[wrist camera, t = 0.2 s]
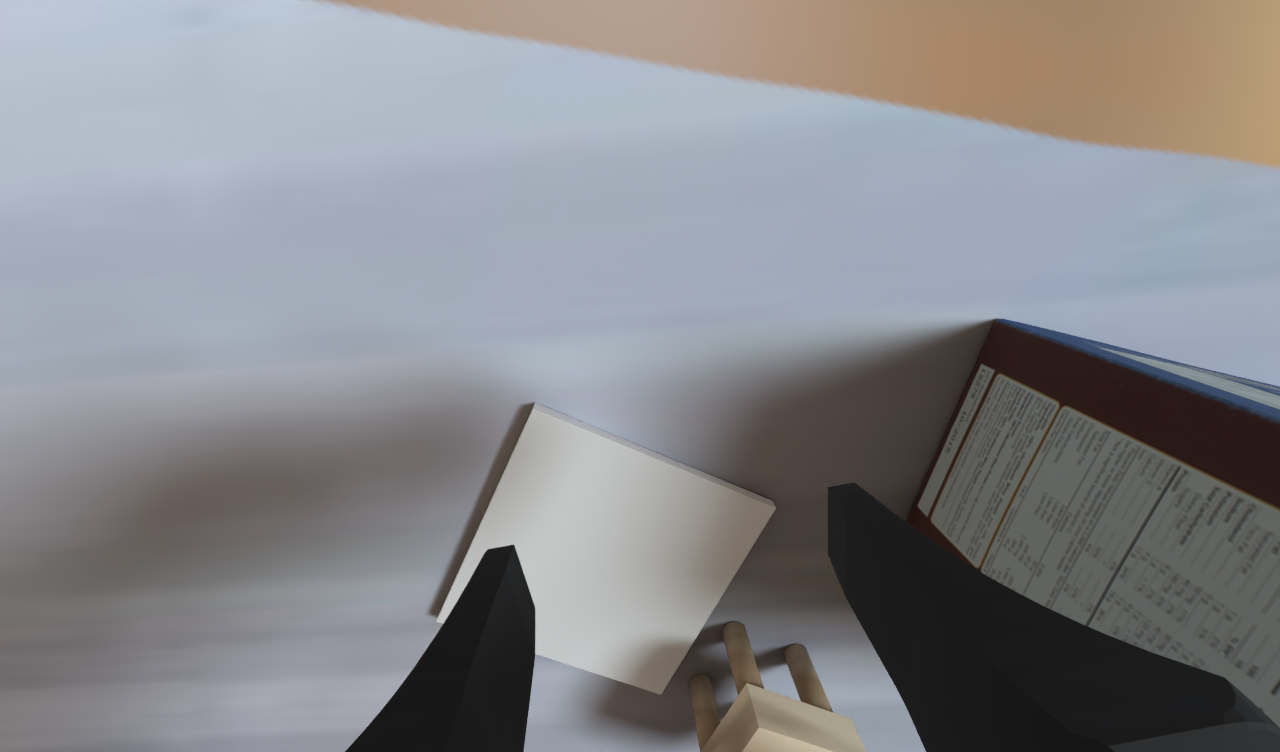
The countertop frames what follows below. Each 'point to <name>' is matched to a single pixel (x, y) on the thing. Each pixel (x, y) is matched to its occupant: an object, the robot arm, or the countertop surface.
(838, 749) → the wooden stool
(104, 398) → the countertop surface
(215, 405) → the countertop surface
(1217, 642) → the protein box
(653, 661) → the mat
